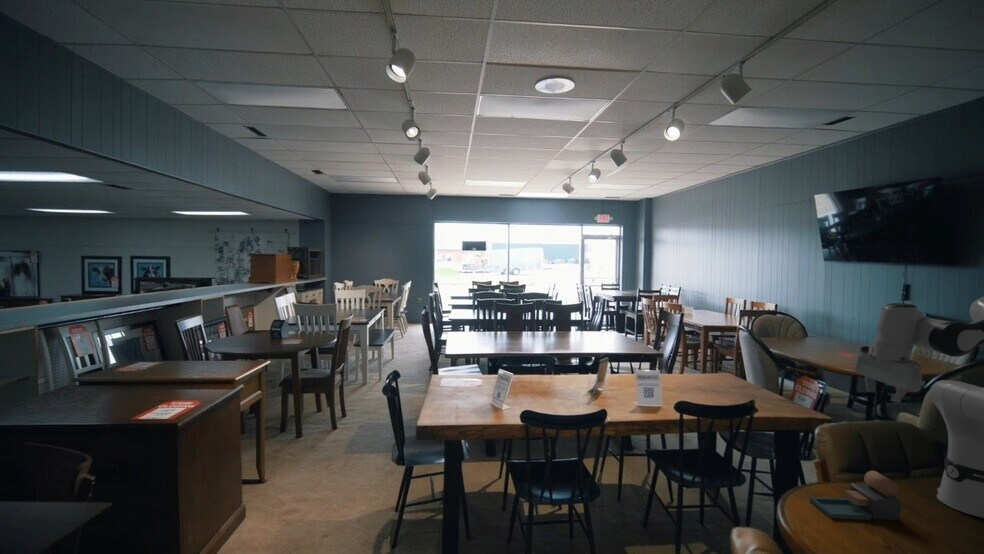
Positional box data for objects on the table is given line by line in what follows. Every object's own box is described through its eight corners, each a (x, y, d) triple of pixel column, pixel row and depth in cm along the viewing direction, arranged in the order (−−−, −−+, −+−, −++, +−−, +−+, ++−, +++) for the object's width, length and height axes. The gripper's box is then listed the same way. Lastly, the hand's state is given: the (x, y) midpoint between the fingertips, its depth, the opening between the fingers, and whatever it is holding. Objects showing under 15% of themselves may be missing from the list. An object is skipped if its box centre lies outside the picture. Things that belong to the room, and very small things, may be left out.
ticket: (872, 497, 140) (873, 491, 140) (886, 506, 135) (887, 500, 135) (844, 496, 140) (844, 490, 140) (856, 505, 135) (857, 499, 135)
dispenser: (874, 503, 142) (877, 469, 142) (899, 520, 133) (902, 483, 133) (849, 502, 142) (852, 468, 142) (872, 519, 133) (875, 482, 133)
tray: (847, 503, 142) (848, 498, 142) (871, 520, 133) (871, 515, 133) (809, 501, 142) (810, 497, 142) (830, 518, 133) (831, 513, 133)
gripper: (933, 364, 128) (923, 410, 129) (874, 348, 149) (866, 387, 150) (911, 361, 128) (901, 407, 129) (855, 345, 149) (847, 385, 150)
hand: (882, 396), depth 140 cm, fingers open, 8 cm apart
